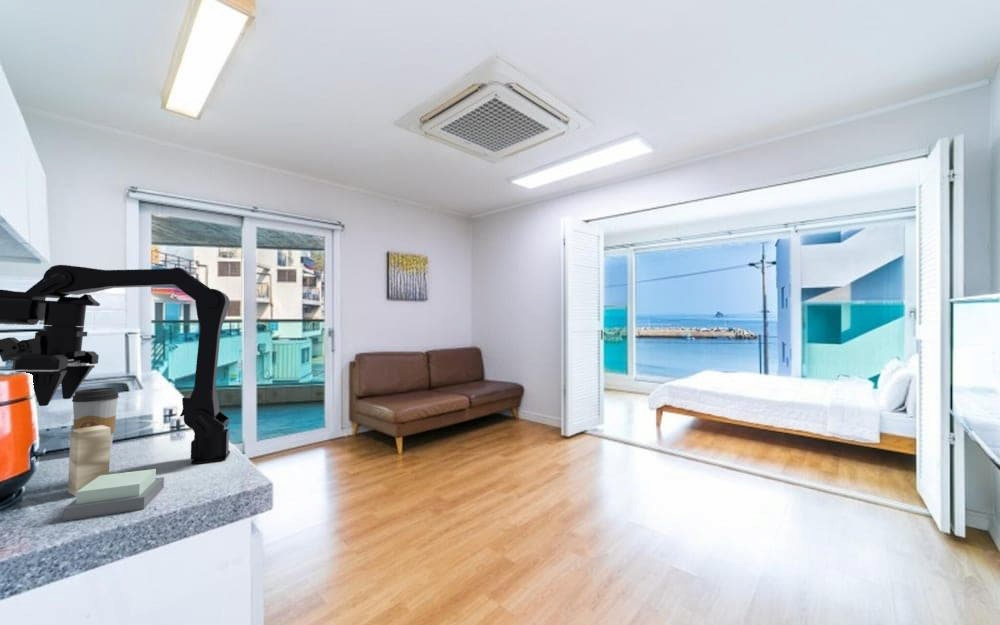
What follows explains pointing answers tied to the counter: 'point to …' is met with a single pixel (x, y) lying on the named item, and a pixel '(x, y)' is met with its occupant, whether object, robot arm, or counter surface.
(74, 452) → the pillar
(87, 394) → the coffee cup
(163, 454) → the counter surface
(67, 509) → the tower base
